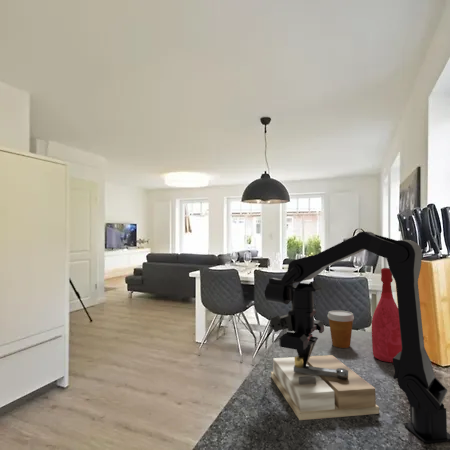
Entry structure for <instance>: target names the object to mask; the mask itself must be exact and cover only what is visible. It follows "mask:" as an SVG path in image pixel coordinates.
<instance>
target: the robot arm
mask: <svg viewBox="0 0 450 450" xmlns="http://www.w3.org/2000/svg"><path fill="white" fill-rule="evenodd" d="M363 251H369V252H370V253H373V254H374V255H376V256H379V257H382V258H384V259H386V261H387V265H388V268H389V269H390V272H391V274H392V279H393V280H394V282H395V289H396V290H395V291H396V298H397V299H396V300H397V307H398V312H399V323H400V333H401V344H402V351H401V352H399V353H398V354H397V355H396V356H395V357H394V358H393V363H392V364H393V368H394V375H393V379H396V381H397V385H398V387H399V389H400V390H402V392H403V393H405V396H406V399H407V401H408V403H409V404H408V405H409V413H410V414H409V416H410V421H408V422H407V421H406V422H404V427H406V428H407V429H408V430H409V431H410V432H412V433H413V434H414V435H415V436H416V437H417V438H419V439H420V440H421V441H423V443H426V444H431V443H442V442H450V433H449V432H448V425H447V424H448V420H447V416H448V415H447V408H445V404H444V403H443V401H444V399H445V398H446V395H447V393H448V389H447V387H445V386H444V384H442V383H441V382H440V381H439V379H438V378H437V377H436V376H435V371H434V369H433V365H432V362H431V359H430V356H429V354H428V352H427V351H426V347H425V341H424V340H425V339H424V331H423V323H422V322H423V321H422V320H423V319H422V311H421V310H422V309H421V301H420V291H419V290H420V289H419V278H420V272H421V270H422V269H421V268H422V258H423V251H422V247H421V246H420V245H419V244H418V243H417V242H415V241H413V240H411V239H401V240H400V239H398V240H397V239H393V238H390V237H386V236H382V235H379V234H375V233H374V232H371V231H359V232H357V233H356V234H355V235H354V236H352V237H349V238H347V239H346V240H343V241H341V242H339V243H337V244H334V245H332V246H331V247H329V248H327V249H325V250H323V251H321V252H319V253H316V254H313V255H309V256H305V257H301V258H297V259H293V260H292V261H290V262H289V263H288V267H287V271H286V272H285V274H284V275H283V276H282V278H277V277H270V278H268V283H267V284H266V287H265V290H264V299H265V300H266V301H267V302H270V303H274V304H275V303H276V304H282V305H289V304H290V303H291V309H290V310H289V311H287V314H284V315H281V316H279V315H276V316H273V317H271V318H270V322H269V323H270V324H269V327H270V328H271V329H272V330H273V331H274V333H278V332H280V331H282V330H286V329H287V332H285V333H284V334H282V335H281V336H280V337H279V338H278V340H279V341H278V342H279V343H278V345H279V347H280V348H283V349H284V348H286V349H291V350H296V353H297V356H301V357H303V366H306V365H307V362H308V360H309V357H310V356H312V352H313V350H314V347H315V346H316V343H317V341H318V339H319V337H317V336H314V335H313V333H314V332H315V331H318V333H319V334H323V332H325V324H324V323H323V321H321V320H318V319H315V315H316V314H317V309H314V293H315V292H318V291H321V290H322V287H321V286H320V285H319V284H318V283H316V281H315V280H312V279H314V278H315V277H317V276H318V275H320V274H321V273H322V272H323V271H324V270H325V269H327V268H328V267H330V266H333V265H335V264H337V263H338V262H339V263H340V262H341V261H344V260H345V259H348V258H350V257H352V256H354V255H357V254H359V253H361V252H363ZM309 280H312V281H309ZM305 281H309V283H306V282H305ZM294 284H296V285H294Z"/></svg>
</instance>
